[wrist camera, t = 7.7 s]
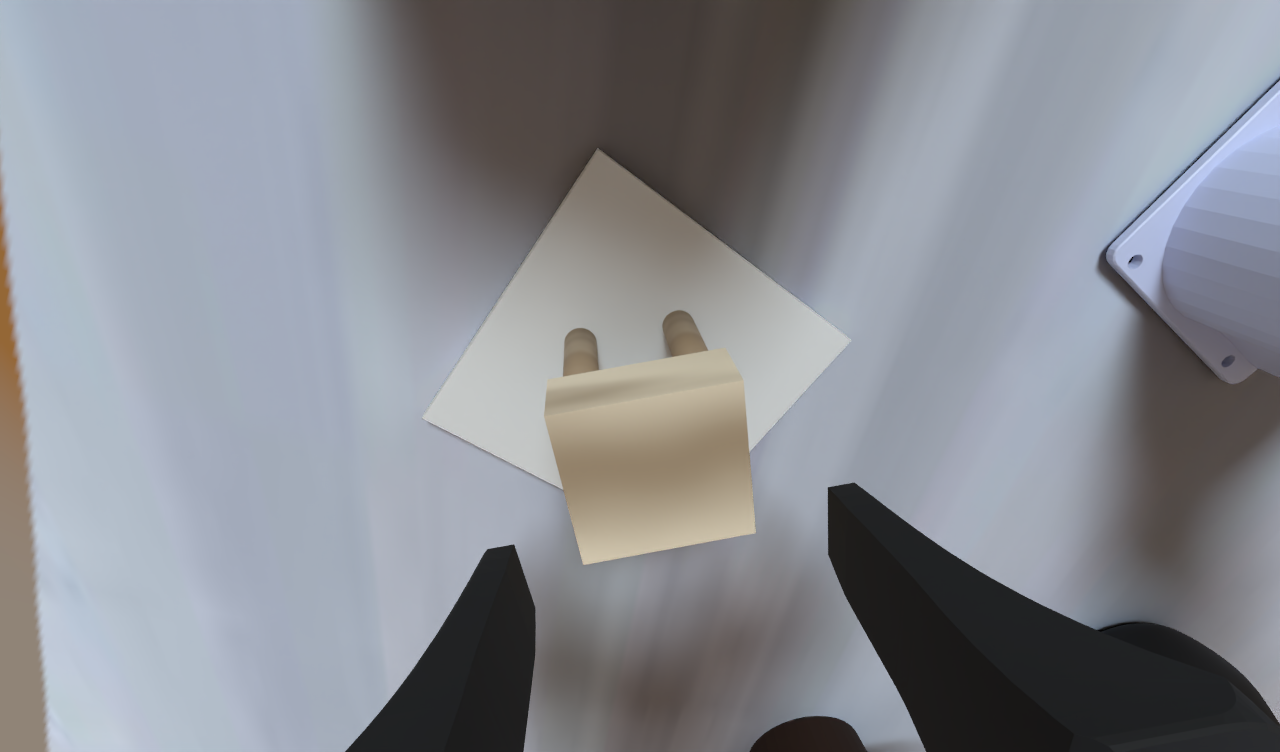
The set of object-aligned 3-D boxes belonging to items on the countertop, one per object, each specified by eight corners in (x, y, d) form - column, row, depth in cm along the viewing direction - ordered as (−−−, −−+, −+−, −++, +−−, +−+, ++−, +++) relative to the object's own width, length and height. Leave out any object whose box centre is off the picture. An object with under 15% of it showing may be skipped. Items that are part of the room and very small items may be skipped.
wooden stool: (712, 424, 22) (755, 533, 17) (581, 447, 22) (583, 564, 17) (698, 299, 20) (743, 380, 15) (552, 325, 20) (543, 416, 15)
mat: (844, 334, 22) (851, 340, 21) (664, 532, 25) (666, 542, 25) (597, 147, 18) (598, 149, 18) (426, 410, 22) (422, 418, 21)
